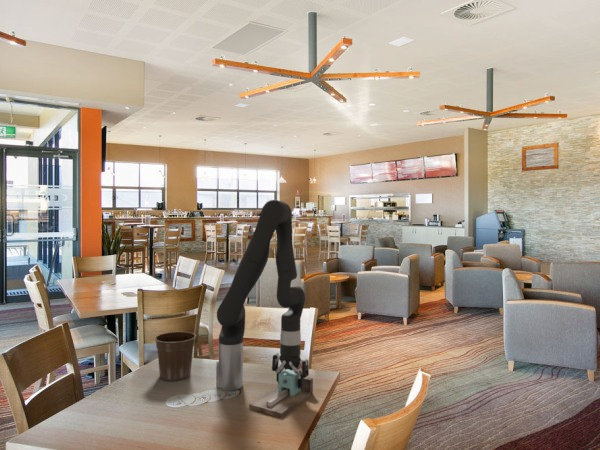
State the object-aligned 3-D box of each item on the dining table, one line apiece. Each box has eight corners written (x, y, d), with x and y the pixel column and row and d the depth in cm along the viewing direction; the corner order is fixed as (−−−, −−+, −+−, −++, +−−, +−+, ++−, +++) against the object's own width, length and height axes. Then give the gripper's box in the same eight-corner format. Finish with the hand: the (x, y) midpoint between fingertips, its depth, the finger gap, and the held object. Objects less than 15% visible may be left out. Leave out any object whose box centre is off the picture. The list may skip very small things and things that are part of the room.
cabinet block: (277, 393, 160) (277, 374, 160) (286, 387, 166) (287, 368, 166) (291, 397, 157) (291, 377, 157) (300, 390, 163) (301, 372, 163)
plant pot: (159, 368, 187) (159, 331, 187) (197, 368, 189) (198, 330, 189) (150, 383, 171) (150, 342, 171) (192, 382, 173) (193, 341, 172)
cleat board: (249, 408, 151) (249, 391, 151) (282, 386, 170) (283, 371, 170) (281, 417, 145) (281, 399, 144) (312, 394, 164) (312, 378, 164)
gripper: (268, 341, 162) (267, 384, 162) (302, 347, 155) (301, 393, 155) (279, 336, 168) (278, 378, 169) (312, 342, 161) (311, 386, 162)
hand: (289, 385), depth 162 cm, fingers open, 8 cm apart
